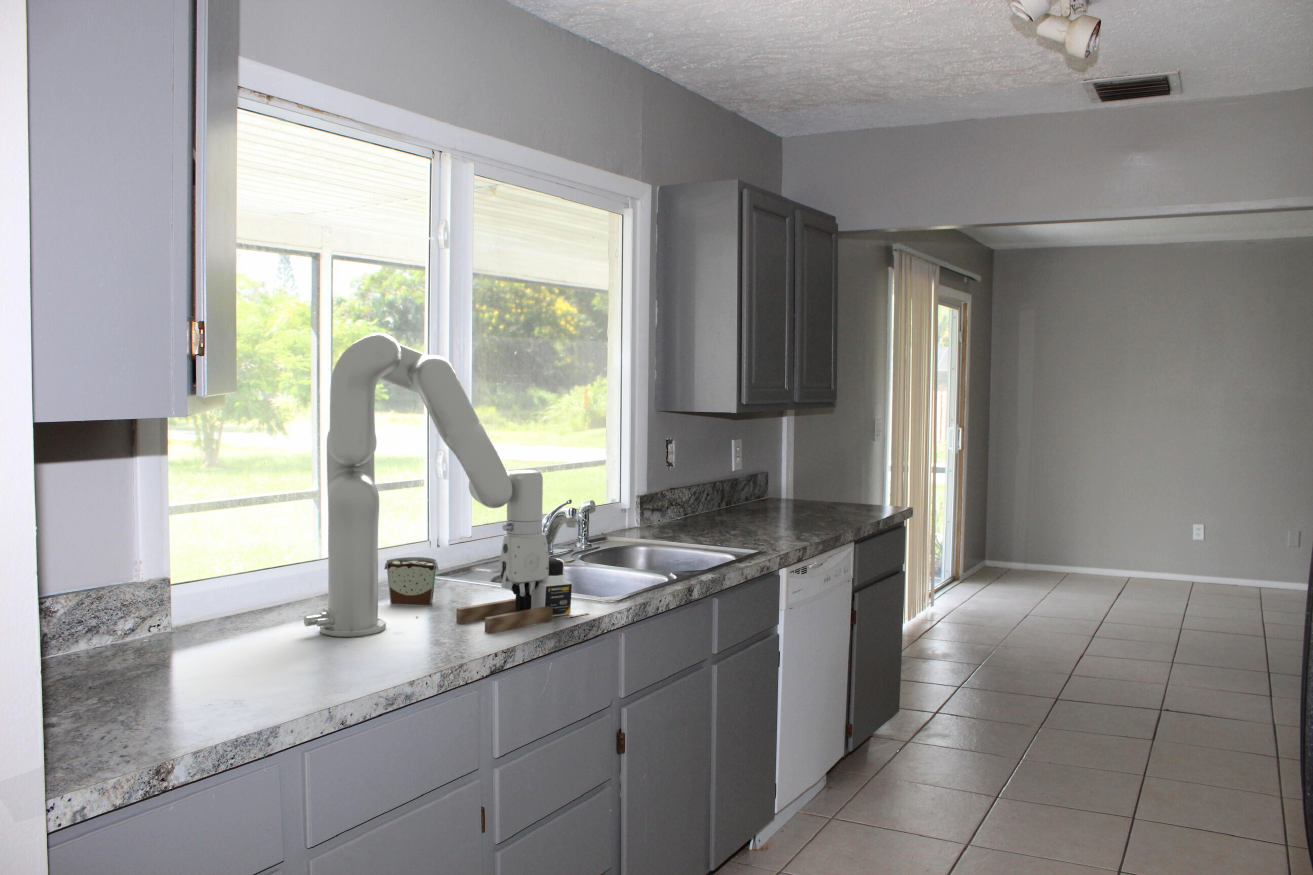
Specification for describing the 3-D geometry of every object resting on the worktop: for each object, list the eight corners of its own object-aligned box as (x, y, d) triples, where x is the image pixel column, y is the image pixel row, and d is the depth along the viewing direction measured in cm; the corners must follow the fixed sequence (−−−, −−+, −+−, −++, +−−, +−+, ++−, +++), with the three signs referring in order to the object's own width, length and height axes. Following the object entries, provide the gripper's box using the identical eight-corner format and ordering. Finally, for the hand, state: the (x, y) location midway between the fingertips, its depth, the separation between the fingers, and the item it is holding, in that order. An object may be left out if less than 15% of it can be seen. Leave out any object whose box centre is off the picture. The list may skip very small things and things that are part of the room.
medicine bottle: (544, 617, 203) (547, 561, 203) (525, 611, 208) (527, 557, 208) (570, 614, 208) (573, 559, 208) (551, 608, 213) (553, 555, 213)
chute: (488, 633, 190) (489, 618, 190) (456, 622, 199) (456, 608, 199) (552, 621, 202) (552, 607, 201) (519, 611, 210) (519, 597, 210)
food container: (446, 600, 219) (446, 557, 219) (437, 606, 213) (437, 562, 213) (394, 598, 221) (394, 555, 220) (384, 604, 214) (384, 560, 214)
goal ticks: (567, 618, 204) (567, 617, 204) (533, 608, 213) (533, 607, 213) (589, 614, 208) (589, 613, 208) (554, 604, 217) (554, 603, 217)
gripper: (505, 533, 195) (504, 621, 196) (563, 527, 205) (561, 611, 206) (484, 528, 200) (483, 615, 201) (542, 523, 210) (540, 605, 211)
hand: (523, 612), depth 204 cm, fingers closed
